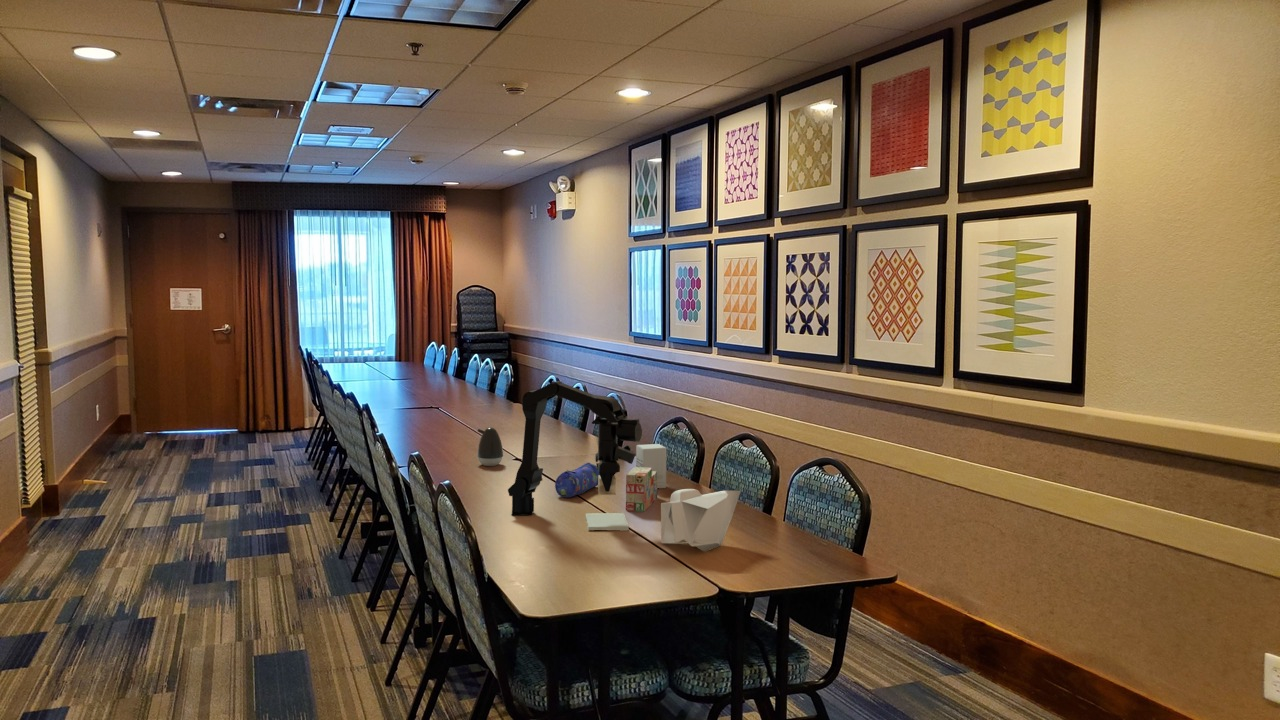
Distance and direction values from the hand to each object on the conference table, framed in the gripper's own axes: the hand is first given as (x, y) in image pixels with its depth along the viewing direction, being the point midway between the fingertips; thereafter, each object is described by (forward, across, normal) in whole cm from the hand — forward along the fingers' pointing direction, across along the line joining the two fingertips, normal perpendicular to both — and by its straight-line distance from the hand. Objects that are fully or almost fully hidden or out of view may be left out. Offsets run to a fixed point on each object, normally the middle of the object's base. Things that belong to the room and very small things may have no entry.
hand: (606, 489), depth 282 cm
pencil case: (+11, +43, +6) cm, 45 cm away
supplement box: (+11, +51, -20) cm, 56 cm away
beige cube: (+1, 0, 0) cm, 1 cm away
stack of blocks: (+11, +25, -14) cm, 31 cm away
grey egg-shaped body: (+11, +92, +40) cm, 101 cm away
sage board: (+11, 0, 0) cm, 11 cm away
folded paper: (+11, -26, -26) cm, 38 cm away
